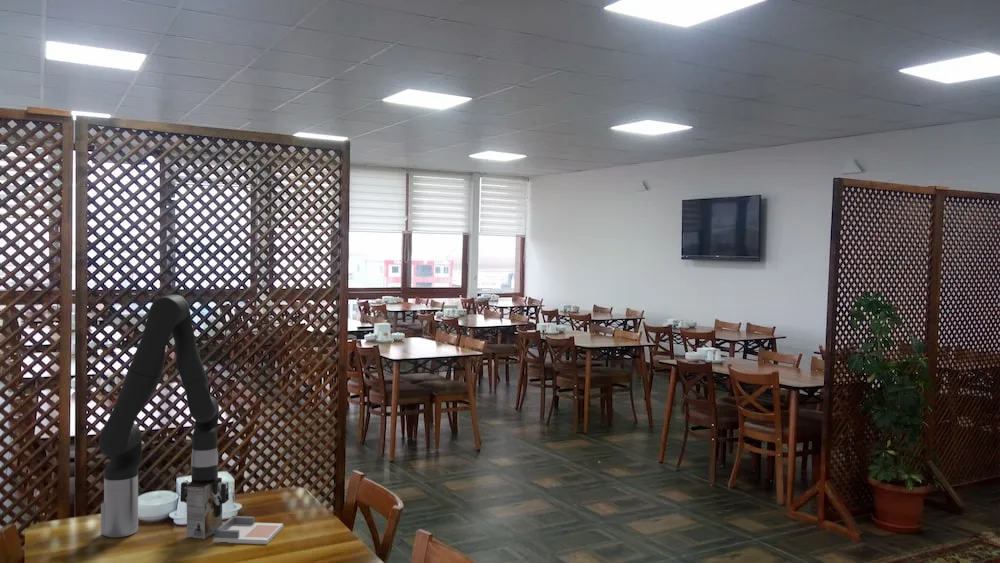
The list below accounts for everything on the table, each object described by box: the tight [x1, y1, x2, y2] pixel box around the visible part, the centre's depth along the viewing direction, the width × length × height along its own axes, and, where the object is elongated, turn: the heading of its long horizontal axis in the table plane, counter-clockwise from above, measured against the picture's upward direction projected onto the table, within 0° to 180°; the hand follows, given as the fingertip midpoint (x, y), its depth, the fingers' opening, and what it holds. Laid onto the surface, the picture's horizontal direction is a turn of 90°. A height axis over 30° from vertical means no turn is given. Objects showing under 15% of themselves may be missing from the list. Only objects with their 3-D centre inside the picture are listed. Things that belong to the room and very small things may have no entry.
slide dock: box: [213, 515, 284, 545], centre depth 229 cm, size 16×14×3 cm
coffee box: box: [186, 477, 223, 540], centre depth 229 cm, size 9×6×16 cm
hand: (204, 515), depth 229 cm, fingers open, 8 cm apart
